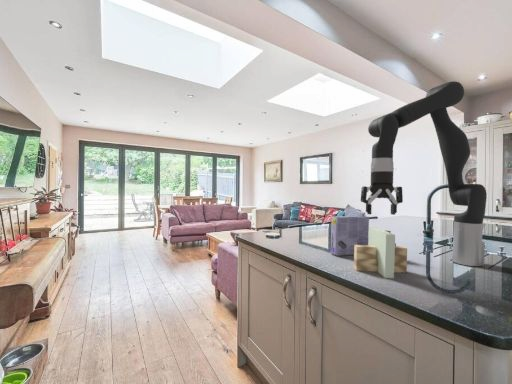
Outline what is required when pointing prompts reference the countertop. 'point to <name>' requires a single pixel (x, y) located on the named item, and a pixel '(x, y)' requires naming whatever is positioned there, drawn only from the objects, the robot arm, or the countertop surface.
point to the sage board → (383, 250)
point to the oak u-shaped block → (368, 261)
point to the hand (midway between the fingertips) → (380, 214)
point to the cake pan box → (348, 234)
